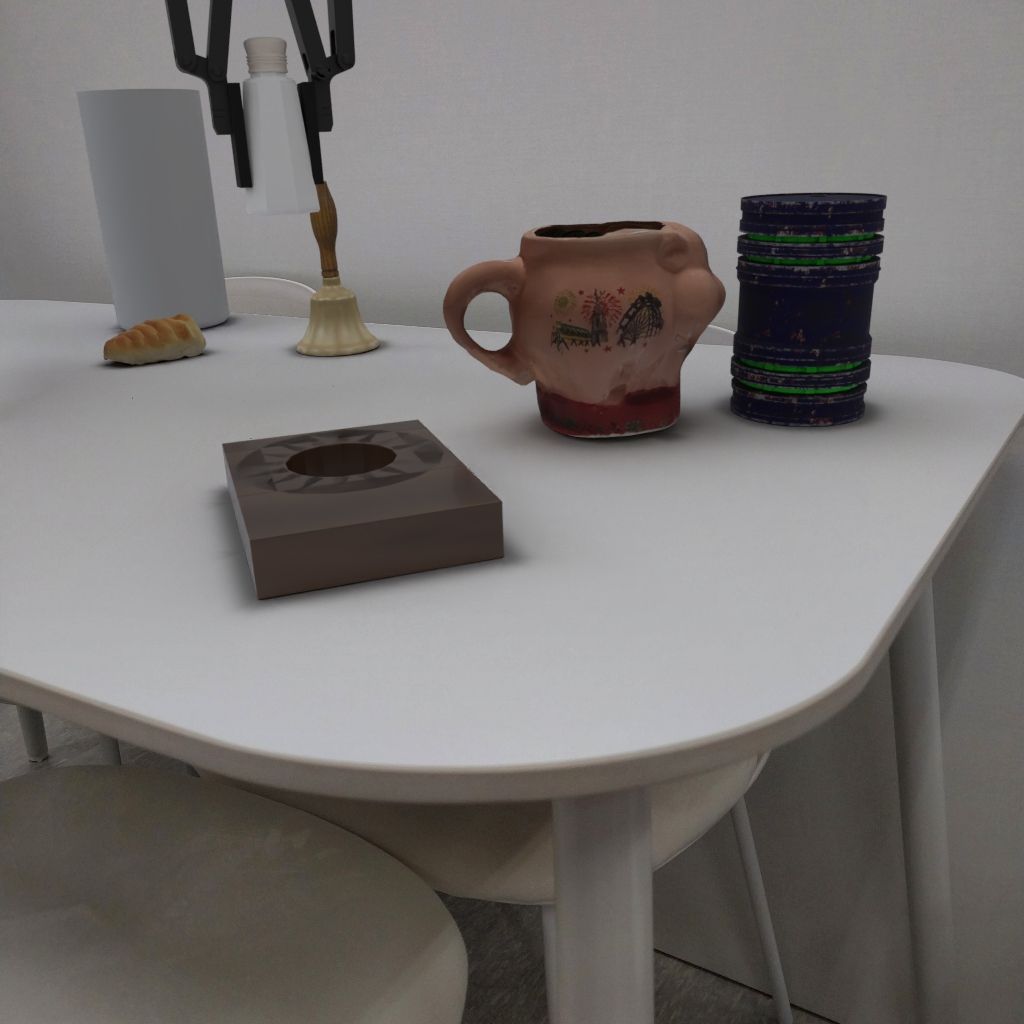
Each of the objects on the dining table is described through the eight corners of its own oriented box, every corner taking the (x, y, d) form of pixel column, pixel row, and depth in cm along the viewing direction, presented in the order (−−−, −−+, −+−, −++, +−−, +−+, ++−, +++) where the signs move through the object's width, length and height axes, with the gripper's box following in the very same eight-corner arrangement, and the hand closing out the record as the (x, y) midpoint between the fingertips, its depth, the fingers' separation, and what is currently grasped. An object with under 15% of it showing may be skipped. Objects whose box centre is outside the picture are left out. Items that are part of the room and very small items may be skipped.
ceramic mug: (488, 474, 60) (479, 242, 55) (426, 425, 70) (413, 226, 65) (757, 429, 67) (770, 220, 62) (664, 391, 77) (669, 210, 72)
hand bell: (318, 360, 92) (300, 184, 87) (283, 347, 99) (264, 182, 93) (394, 347, 97) (382, 179, 91) (355, 336, 103) (342, 178, 97)
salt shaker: (260, 216, 65) (238, 33, 61) (233, 213, 69) (211, 41, 65) (335, 211, 67) (319, 35, 63) (304, 208, 72) (287, 43, 68)
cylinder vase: (239, 313, 120) (210, 92, 111) (217, 331, 108) (183, 87, 99) (136, 317, 119) (99, 96, 110) (103, 336, 107) (58, 91, 98)
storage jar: (857, 432, 66) (881, 202, 60) (714, 419, 70) (724, 202, 64) (873, 397, 74) (895, 191, 69) (744, 387, 78) (755, 192, 73)
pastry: (127, 371, 90) (120, 330, 89) (90, 363, 94) (83, 324, 93) (213, 353, 97) (207, 314, 96) (175, 346, 101) (169, 309, 100)
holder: (228, 490, 58) (221, 443, 57) (421, 464, 62) (418, 419, 61) (257, 600, 44) (249, 540, 43) (504, 557, 48) (502, 500, 47)
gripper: (80, -256, 53) (151, 193, 61) (388, -228, 58) (414, 181, 67) (85, -212, 59) (148, 189, 68) (361, -190, 65) (388, 178, 73)
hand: (280, 184), depth 67 cm, fingers closed on salt shaker, 4 cm apart
